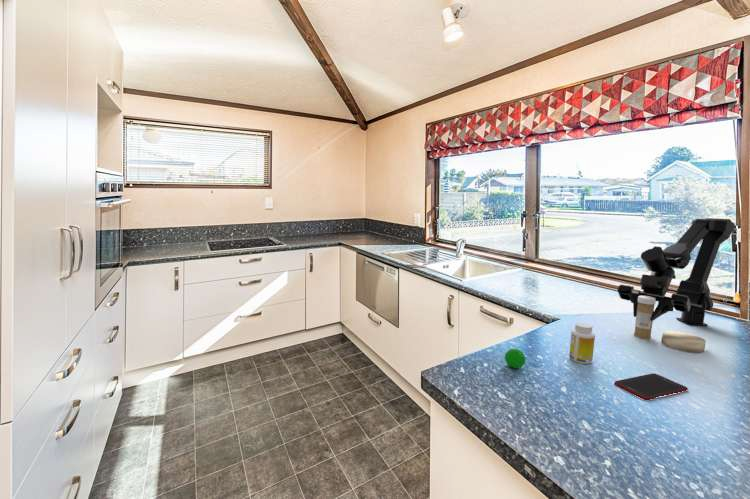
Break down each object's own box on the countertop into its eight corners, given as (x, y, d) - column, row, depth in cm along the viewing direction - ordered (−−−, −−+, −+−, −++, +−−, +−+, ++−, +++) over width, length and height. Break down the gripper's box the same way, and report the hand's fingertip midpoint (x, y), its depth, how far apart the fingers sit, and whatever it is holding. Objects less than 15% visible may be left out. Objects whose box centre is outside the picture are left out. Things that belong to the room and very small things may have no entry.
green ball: (511, 372, 89) (512, 354, 88) (500, 363, 94) (501, 346, 93) (528, 370, 90) (529, 353, 89) (517, 362, 95) (518, 345, 94)
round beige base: (654, 338, 112) (655, 329, 112) (689, 341, 111) (690, 332, 110) (674, 351, 103) (675, 341, 102) (713, 354, 101) (714, 344, 100)
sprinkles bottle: (653, 337, 113) (658, 297, 111) (647, 340, 111) (652, 299, 109) (636, 332, 117) (641, 294, 115) (630, 335, 115) (635, 296, 113)
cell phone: (689, 392, 81) (690, 388, 81) (645, 402, 77) (646, 398, 77) (654, 376, 89) (654, 372, 89) (612, 385, 84) (612, 381, 84)
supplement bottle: (596, 362, 95) (600, 326, 94) (583, 366, 93) (587, 329, 91) (577, 354, 100) (580, 320, 99) (564, 357, 98) (567, 323, 96)
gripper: (622, 261, 120) (604, 296, 116) (693, 270, 105) (676, 312, 101) (629, 280, 126) (612, 315, 121) (697, 292, 111) (681, 332, 106)
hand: (642, 318), depth 112 cm, fingers closed on sprinkles bottle, 4 cm apart
